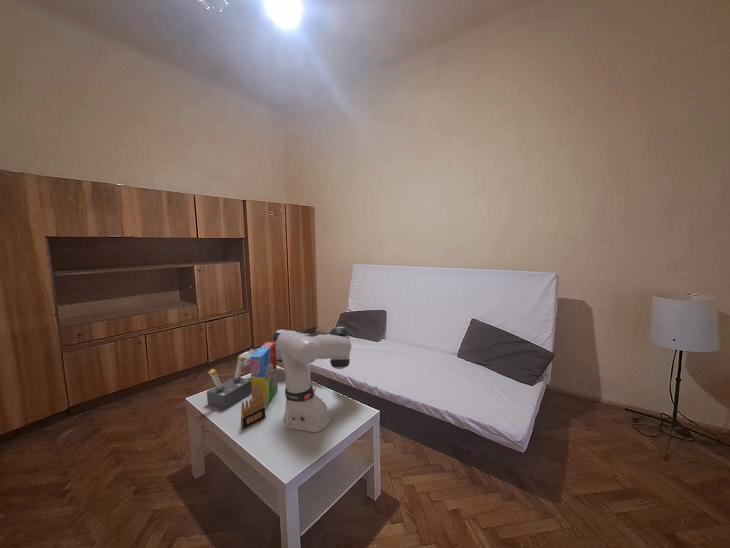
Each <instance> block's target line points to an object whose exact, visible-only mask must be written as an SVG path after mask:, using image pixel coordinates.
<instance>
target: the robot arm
mask: <svg viewBox="0 0 730 548" xmlns="http://www.w3.org/2000/svg"><path fill="white" fill-rule="evenodd" d="M272 342H275V343H276V362H278V363H282V365H283V368H284V376H285V377H284V378H285V388H284V390H285V391H284V396H285V411H284V415H283V422H284V428H285V429H290V430H297V431H302V432H303V431H304V432H310V433H318V432H320V431H322V430H324V429H326V427H327V426H329V424H330V423H331V422H332V420H333V418H334V416H333V412H332V411H329V410H328V407H327V404H326V402H324V401H323V399H322V398H320V397H319V396H318V395H317V394H316V393H315V392H316V391H317V390H316V389H317V387H315V388H314V387H313V385H312V382H311V381H312V380H311V368H310V365H309V364H312V363H314V362H315V361H316V360H329V359H330V360H329V363H330V366H331V367H332V368H334V369H337V370H342V369H343V370H344V369H345V368H348V367H349V365H350V361H351V359H350V356H351V355H350V354H351V350H352V343H351V339H350V331H349V329H348V328H347V327H344V326H337V327H335V328H332V330H331V332H330V334H317V335H315V334H313V333H308V332H300V331H296V330H288V329H278V330H275V332H274V333H273V334H272ZM259 348H260V347H258V348H251V349H249V350H248V351H245V352H242V353H241V354H239V355H238V357H244V358H245V360H244V361H243V366H242V367H246V368H247V367H250V357H251V356H252V355H253V354H254V353H255V352H256V351H257V350H258V349H259Z"/></svg>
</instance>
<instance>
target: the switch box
mask: <svg viewBox="0 0 730 548" xmlns="http://www.w3.org/2000/svg"><path fill="white" fill-rule="evenodd" d="M221 383H222V385H223V386H224V387H225V389H224V390H223V391H220V390H216V386H213V387H212V388H210V389H208V390H207V391H206V398H207V399H206V401H207V405H208V404H209V405H208V406H211V405H212V407H215V408H217V409H221V410H224V411H226V410H227V409H229V408H231V407H232V406H234V405H236V404H237V403H239V402H241V401H242V400H243V399H245V398H246V397H249V395H252V387H251V379H247V378H243V377H241V380H240V382H237V381H233V377H231V378H229V379H227V380H225V381H224V382H221Z"/></svg>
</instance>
